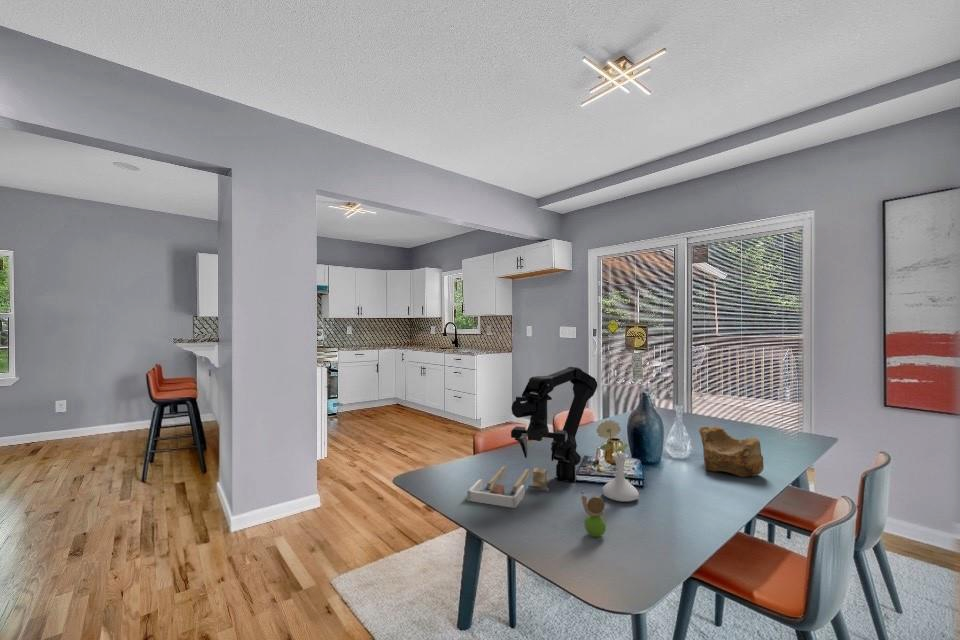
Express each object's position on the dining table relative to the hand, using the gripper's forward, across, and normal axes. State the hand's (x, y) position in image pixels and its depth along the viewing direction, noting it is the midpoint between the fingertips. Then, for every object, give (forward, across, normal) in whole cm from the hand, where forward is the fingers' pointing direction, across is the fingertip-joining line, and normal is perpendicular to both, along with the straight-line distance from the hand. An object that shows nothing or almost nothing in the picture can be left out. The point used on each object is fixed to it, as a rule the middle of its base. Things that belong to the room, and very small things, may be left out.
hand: (539, 459), depth 143 cm
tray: (+10, -11, -12) cm, 20 cm away
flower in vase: (+10, +26, +1) cm, 28 cm away
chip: (+10, -11, -13) cm, 20 cm away
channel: (+10, -11, +2) cm, 15 cm away
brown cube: (+10, -11, -10) cm, 18 cm away
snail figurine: (+10, +21, -27) cm, 35 cm away
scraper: (+10, 0, 0) cm, 10 cm away
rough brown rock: (+10, +62, +40) cm, 75 cm away
